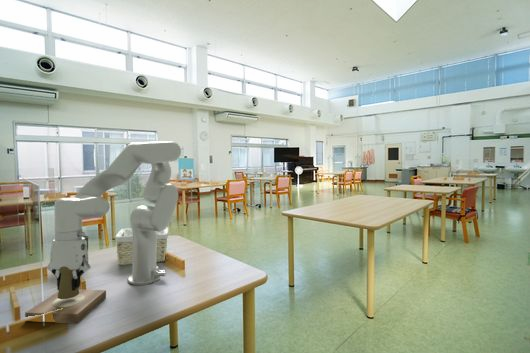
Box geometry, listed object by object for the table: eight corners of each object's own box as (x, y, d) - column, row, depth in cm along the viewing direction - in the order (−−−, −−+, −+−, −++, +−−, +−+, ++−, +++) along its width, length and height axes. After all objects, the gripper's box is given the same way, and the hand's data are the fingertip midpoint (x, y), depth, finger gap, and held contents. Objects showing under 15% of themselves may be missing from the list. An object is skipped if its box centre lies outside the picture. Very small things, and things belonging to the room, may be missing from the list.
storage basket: (114, 266, 132) (114, 236, 132) (120, 255, 148) (121, 227, 147) (167, 263, 139) (167, 233, 139) (168, 252, 155) (169, 226, 154)
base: (106, 298, 103) (106, 289, 103) (77, 323, 87) (77, 313, 87) (62, 296, 103) (62, 288, 102) (25, 322, 87) (25, 312, 86)
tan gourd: (68, 300, 91) (68, 267, 90) (52, 297, 92) (52, 265, 91) (83, 292, 97) (83, 260, 96) (69, 289, 98) (69, 258, 97)
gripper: (100, 232, 97) (100, 284, 98) (51, 231, 97) (52, 283, 98) (86, 238, 90) (86, 294, 91) (34, 237, 89) (34, 293, 90)
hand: (68, 288), depth 94 cm, fingers closed on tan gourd, 4 cm apart
